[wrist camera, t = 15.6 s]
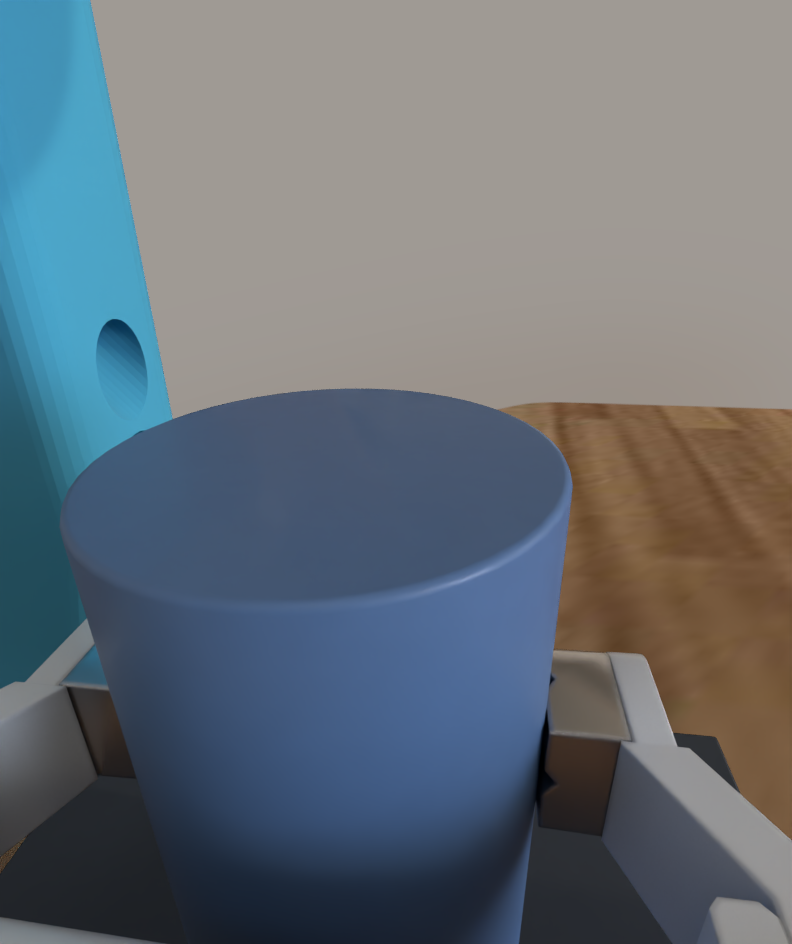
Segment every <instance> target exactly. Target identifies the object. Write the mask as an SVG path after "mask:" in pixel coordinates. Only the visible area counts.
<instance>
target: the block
mask: <svg viewBox="0 0 792 944" xmlns="http://www.w3.org/2000/svg"><path fill="white" fill-rule="evenodd" d="M172 419H173V418H172V413H171V408H170V403H169V398H168V393H167V388H166V383H165V378H164V373H163V368H162V362H161V358H160V352H159V348H158V342H157V337H156V332H155V327H154V322H153V317H152V312H151V307H150V302H149V296H148V292H147V286H146V281H145V277H144V271H143V266H142V261H141V256H140V251H139V246H138V241H137V236H136V231H135V225H134V220H133V215H132V211H131V205H130V200H129V195H128V190H127V185H126V180H125V175H124V170H123V164H122V160H121V154H120V150H119V144H118V139H117V134H116V129H115V124H114V120H113V114H112V109H111V104H110V98H109V93H108V88H107V84H106V78H105V74H104V68H103V63H102V58H101V53H100V48H99V43H98V38H97V33H96V27H95V22H94V17H93V12H92V7H91V2H90V0H0V689H1V688H3V687H5V686H8V685H10V684H12V683H14V682H26V681H27V679H28V678H29V677H30V676H31V675H32V674H33V673H34V672H35V671H36V670H37V669H38V668H39V667H40V666H41V665H42V664H43V663H44V662H45V661H46V660H47V659H48V658H49V657H50V656H51V655H52V654H53V653H54V652H55V651H56V650H57V649H58V647H59V646H60V645H61V644H62V643H63V642H64V641H65V640H66V639H67V638H68V637H69V636H70V635H71V634H72V633H73V632H74V631H75V630H76V629H77V628H78V627H79V626H80V625H81V624H82V623H83V622H84V621H85V620H86V619H87V617H86V614H85V611H84V608H83V604H82V601H81V598H80V595H79V592H78V588H77V585H76V582H75V579H74V576H73V572H72V569H71V566H70V563H69V560H68V556H67V553H66V550H65V547H64V544H63V540H62V535H61V531H60V527H59V525H60V515H61V508H62V504H63V501H64V499H65V497H66V494H67V492H68V490H69V488H70V487H71V485H72V484H73V483H74V481H75V480H76V479H77V477H78V476H79V475H80V474H81V473H82V472H83V471H84V470H85V469H86V468H87V467H88V466H89V465H90V464H91V463H92V462H93V461H95V460H96V459H97V458H99V457H100V456H101V455H103V454H104V453H106V452H107V451H108V450H110V449H112V448H113V447H115V446H117V445H118V444H120V443H122V442H123V441H125V440H127V439H129V438H131V437H133V436H135V435H137V434H139V433H141V432H143V431H145V430H147V429H150V428H152V427H155V426H157V425H159V424H162V423H164V422H167V421H169V420H172Z"/></svg>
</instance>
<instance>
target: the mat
mask: <svg viewBox="0 0 792 944" xmlns="http://www.w3.org/2000/svg"><path fill="white" fill-rule="evenodd" d="M673 735H674V738H675V741H676V744H677V747H684V748H690V749H691V750H692V751H693V752H694V753H695V754H696V755H697V756H699V757H700V758H701V759H702V760H703V761H704V762H705V763H706V764H707V765H709V766H710V767H711V768H712V769H713V770H714V771H715V772H716V773H717V774H719V775H720V776H721V777H722V778H723V779H724V780H725V781H726V782H727V783H728V784H730V785H731V786H732V787H733V788H734V789H735V790H736V791H737V792H738V793H740V792H739V789H738V787H737V785H736V782H735V780H734V778H733V775H732V773H731V771H730V768H729V766H728V764H727V761H726V759H725V757H724V754H723V752H722V750H721V747H720V745H719V743H718V740H717V738H716V737H712V736H701V735H690V734H680V733H673ZM601 839H602V837H601V836H595V835H588V834H581V833H575V832H568V831H561V830H555V829H548V828H541V827H538V821H537V810H536V802H535V811H534V819H533V828H532V836H531V845H530V853H529V862H528V870H527V879H526V887H525V895H524V904H523V912H522V921H521V929H520V938H519V944H672V942H671V941H670V940H669V938H668V937H667V935H666V934H665V932H664V931H663V929H662V928H661V926H660V925H659V923H658V922H657V921H656V919H655V918H654V916H653V915H652V913H651V912H650V910H649V909H648V907H647V906H646V904H645V903H644V901H643V900H642V899H641V897H640V896H639V894H638V893H637V891H636V890H635V888H634V887H633V885H632V884H631V882H630V881H629V880H628V878H627V877H626V875H625V874H624V872H623V871H622V869H621V868H620V866H619V865H618V863H617V862H616V860H615V859H614V858H613V856H612V855H611V853H610V852H609V850H608V849H607V847H606V846H605V844H604V843H603V841H602V840H601ZM0 917H3V918H10V919H16V920H22V921H28V922H34V923H41V924H47V925H53V926H59V927H65V928H72V929H78V930H84V931H90V932H96V933H103V934H109V935H115V936H121V937H127V938H134V939H140V940H146V941H152V942H158V943H165V944H188V941H187V938H186V935H185V932H184V928H183V925H182V922H181V919H180V916H179V912H178V909H177V906H176V903H175V899H174V896H173V893H172V890H171V887H170V883H169V880H168V877H167V874H166V871H165V867H164V864H163V861H162V858H161V855H160V851H159V848H158V845H157V842H156V839H155V835H154V832H153V829H152V826H151V823H150V819H149V816H148V813H147V810H146V806H145V803H144V800H143V797H142V794H141V790H140V787H139V784H138V781H137V779H131V778H120V777H109V776H98V779H97V780H96V781H95V782H94V783H92V784H91V785H90V786H89V787H87V788H86V789H85V790H84V791H82V792H81V793H80V794H79V795H77V796H76V797H75V798H73V799H72V800H71V801H70V802H68V803H67V804H66V805H65V806H63V807H62V808H61V809H60V810H58V811H57V812H56V813H55V814H53V815H52V816H51V817H50V818H48V819H47V820H46V821H45V822H43V823H42V824H41V825H40V826H38V827H37V828H36V829H35V830H33V831H32V832H31V833H29V835H28V836H27V837H26V839H25V840H24V842H23V843H22V844H21V846H20V847H19V849H18V850H17V851H16V853H15V854H14V855H13V857H12V858H11V860H10V861H9V862H8V864H7V865H6V867H5V868H4V869H3V871H2V872H1V874H0Z"/></svg>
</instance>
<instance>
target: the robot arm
mask: <svg viewBox="0 0 792 944" xmlns="http://www.w3.org/2000/svg"><path fill="white" fill-rule="evenodd" d="M98 776H109V777H120V778H131V779H137V778H136V774H135V771H134V768H133V765H132V762H131V758H130V755H129V752H128V749H127V746H126V742H125V739H124V736H123V733H122V730H121V726H120V723H119V720H118V717H117V714H116V710H115V707H114V704H113V701H112V697H111V694H110V691H109V688H108V685H107V681H106V678H105V675H104V672H103V669H102V665H101V662H100V659H99V656H98V653H97V649H96V646H95V643H94V640H93V637H92V633H91V630H90V627H89V624H88V621H87V619H86V620H85V621H84V622H83V623H82V624H81V625H80V626H79V627H78V628H77V629H76V630H75V631H74V632H73V633H72V634H71V635H70V636H69V637H68V638H67V639H66V640H65V641H64V642H63V643H62V644H61V645H60V646H59V647H58V649H57V650H56V651H55V652H54V653H53V654H52V655H51V656H50V657H49V658H48V659H47V660H46V661H45V662H44V663H43V664H42V665H41V666H40V667H39V668H38V669H37V670H36V671H35V672H34V673H33V674H32V675H31V676H30V677H29V678H28V679H27V681H26V682H14V683H12V684H10V685H8V686H5V687H3V688H1V689H0V857H1V856H2V855H3V854H4V853H6V852H7V851H8V850H9V849H11V848H12V847H13V846H14V845H16V844H17V843H18V842H19V841H21V840H22V839H23V838H24V837H26V836H27V835H28V834H29V833H31V832H32V831H33V830H35V829H36V828H37V827H38V826H40V825H41V824H42V823H43V822H45V821H46V820H47V819H48V818H50V817H51V816H52V815H53V814H55V813H56V812H57V811H58V810H60V809H61V808H62V807H63V806H65V805H66V804H67V803H68V802H70V801H71V800H72V799H73V798H75V797H76V796H77V795H79V794H80V793H81V792H82V791H84V790H85V789H86V788H87V787H89V786H90V785H91V784H92V783H94V782H95V781H96V780H97V779H98ZM536 810H537V821H538V827H541V828H548V829H555V830H561V831H568V832H575V833H581V834H588V835H595V836H601V837H602V839H601V840H602V841H603V843H604V844H605V846H606V847H607V849H608V850H609V852H610V853H611V855H612V856H613V858H614V859H615V860H616V862H617V863H618V865H619V866H620V868H621V869H622V871H623V872H624V874H625V875H626V877H627V878H628V880H629V881H630V882H631V884H632V885H633V887H634V888H635V890H636V891H637V893H638V894H639V896H640V897H641V899H642V900H643V901H644V903H645V904H646V906H647V907H648V909H649V910H650V912H651V913H652V915H653V916H654V918H655V919H656V921H657V922H658V923H659V925H660V926H661V928H662V929H663V931H664V932H665V934H666V935H667V937H668V938H669V940H670V941H671V942H672V944H792V840H791V839H789V838H788V837H787V836H786V835H785V834H784V833H783V832H782V831H781V830H779V829H778V828H777V827H776V826H775V825H774V824H773V823H772V822H771V821H769V820H768V819H767V818H766V817H765V816H764V815H763V814H762V813H761V812H760V811H758V810H757V809H756V808H755V807H754V806H753V805H752V804H751V803H750V802H748V801H747V800H746V799H745V798H744V797H743V796H742V795H741V794H740V793H738V792H737V791H736V790H735V789H734V788H733V787H732V786H731V785H730V784H728V783H727V782H726V781H725V780H724V779H723V778H722V777H721V776H720V775H719V774H717V773H716V772H715V771H714V770H713V769H712V768H711V767H710V766H709V765H707V764H706V763H705V762H704V761H703V760H702V759H701V758H700V757H699V756H697V755H696V754H695V753H694V752H693V751H692V750H691V749H690V748H684V747H677V744H676V741H675V738H674V735H673V732H672V730H671V727H670V724H669V721H668V718H667V716H666V713H665V710H664V707H663V704H662V702H661V699H660V696H659V693H658V690H657V687H656V685H655V682H654V679H653V676H652V673H651V671H650V668H649V665H648V662H647V659H646V658H645V657H644V656H643V655H642V654H635V653H618V652H606V653H604V652H593V651H580V650H566V649H553V658H552V666H551V675H550V683H549V692H548V700H547V707H546V715H545V724H544V732H543V740H542V751H541V759H540V766H539V774H538V783H537V792H536ZM0 944H165V943H158V942H152V941H146V940H140V939H134V938H127V937H121V936H115V935H109V934H103V933H96V932H90V931H84V930H78V929H72V928H65V927H59V926H53V925H47V924H41V923H34V922H28V921H22V920H16V919H10V918H3V917H0Z"/></svg>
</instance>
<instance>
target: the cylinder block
mask: <svg viewBox="0 0 792 944" xmlns="http://www.w3.org/2000/svg"><path fill="white" fill-rule="evenodd" d="M572 488H573V486H572V479H571V473H570V470H569V467H568V465H567V463H566V460H565V458H564V456H563V454H562V453H561V452H560V450H559V449H558V448H557V447H556V445H555V444H554V443H553V442H552V441H551V440H550V439H549V438H547V437H546V436H545V435H544V434H543V433H542V432H540V431H539V430H537V429H535V428H534V427H532V426H531V425H529V424H528V423H526V422H524V421H522V420H520V419H518V418H516V417H513V416H511V415H509V414H506V413H504V412H501V411H499V410H496V409H493V408H490V407H487V406H483V405H480V404H477V403H473V402H469V401H465V400H461V399H456V398H452V397H447V396H441V395H435V394H429V393H421V392H413V391H401V390H387V389H326V390H312V391H300V392H291V393H283V394H275V395H269V396H262V397H256V398H250V399H246V400H240V401H235V402H231V403H227V404H222V405H218V406H214V407H210V408H207V409H203V410H200V411H197V412H193V413H190V414H187V415H184V416H181V417H178V418H175V419H172V420H169V421H167V422H164V423H162V424H159V425H157V426H155V427H152V428H150V429H147V430H145V431H143V432H141V433H139V434H137V435H135V436H133V437H131V438H129V439H127V440H125V441H123V442H122V443H120V444H118V445H117V446H115V447H113V448H112V449H110V450H108V451H107V452H106V453H104V454H103V455H101V456H100V457H99V458H97V459H96V460H95V461H93V462H92V463H91V464H90V465H89V466H88V467H87V468H86V469H85V470H84V471H83V472H82V473H81V474H80V475H79V476H78V477H77V479H76V480H75V481H74V483H73V484H72V485H71V487H70V488H69V490H68V492H67V494H66V497H65V499H64V501H63V504H62V508H61V515H60V525H59V527H60V531H61V535H62V540H63V544H64V547H65V550H66V553H67V556H68V560H69V563H70V566H71V569H72V572H73V576H74V579H75V582H76V585H77V588H78V592H79V595H80V598H81V601H82V604H83V608H84V611H85V614H86V617H87V621H88V624H89V627H90V630H91V633H92V637H93V640H94V643H95V646H96V649H97V653H98V656H99V659H100V662H101V665H102V669H103V672H104V675H105V678H106V681H107V685H108V688H109V691H110V694H111V697H112V701H113V704H114V707H115V710H116V714H117V717H118V720H119V723H120V726H121V730H122V733H123V736H124V739H125V742H126V746H127V749H128V752H129V755H130V758H131V762H132V765H133V768H134V771H135V774H136V778H137V781H138V784H139V787H140V790H141V794H142V797H143V800H144V803H145V806H146V810H147V813H148V816H149V819H150V823H151V826H152V829H153V832H154V835H155V839H156V842H157V845H158V848H159V851H160V855H161V858H162V861H163V864H164V867H165V871H166V874H167V877H168V880H169V883H170V887H171V890H172V893H173V896H174V899H175V903H176V906H177V909H178V912H179V916H180V919H181V922H182V925H183V928H184V932H185V935H186V938H187V941H188V944H519V938H520V929H521V921H522V912H523V904H524V895H525V887H526V879H527V870H528V862H529V853H530V845H531V836H532V828H533V819H534V811H535V802H536V792H537V783H538V774H539V766H540V759H541V751H542V740H543V732H544V724H545V715H546V707H547V700H548V692H549V683H550V675H551V666H552V658H553V649H554V641H555V632H556V624H557V615H558V607H559V598H560V590H561V581H562V573H563V564H564V556H565V548H566V539H567V531H568V522H569V514H570V505H571V497H572Z"/></svg>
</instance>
